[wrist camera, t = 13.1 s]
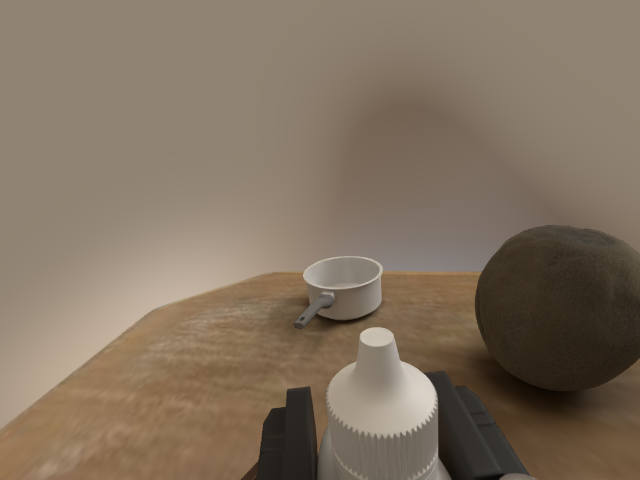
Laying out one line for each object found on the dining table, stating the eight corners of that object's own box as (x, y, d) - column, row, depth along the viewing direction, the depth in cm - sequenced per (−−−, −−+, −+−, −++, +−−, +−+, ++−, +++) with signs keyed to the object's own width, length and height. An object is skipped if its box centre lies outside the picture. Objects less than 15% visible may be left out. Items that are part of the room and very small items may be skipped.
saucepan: (261, 356, 43) (254, 316, 41) (325, 284, 60) (321, 254, 59) (351, 375, 39) (347, 330, 37) (392, 291, 56) (391, 258, 54)
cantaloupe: (616, 461, 27) (656, 279, 22) (447, 373, 37) (449, 237, 33) (659, 370, 35) (695, 223, 30) (510, 319, 45) (518, 204, 41)
